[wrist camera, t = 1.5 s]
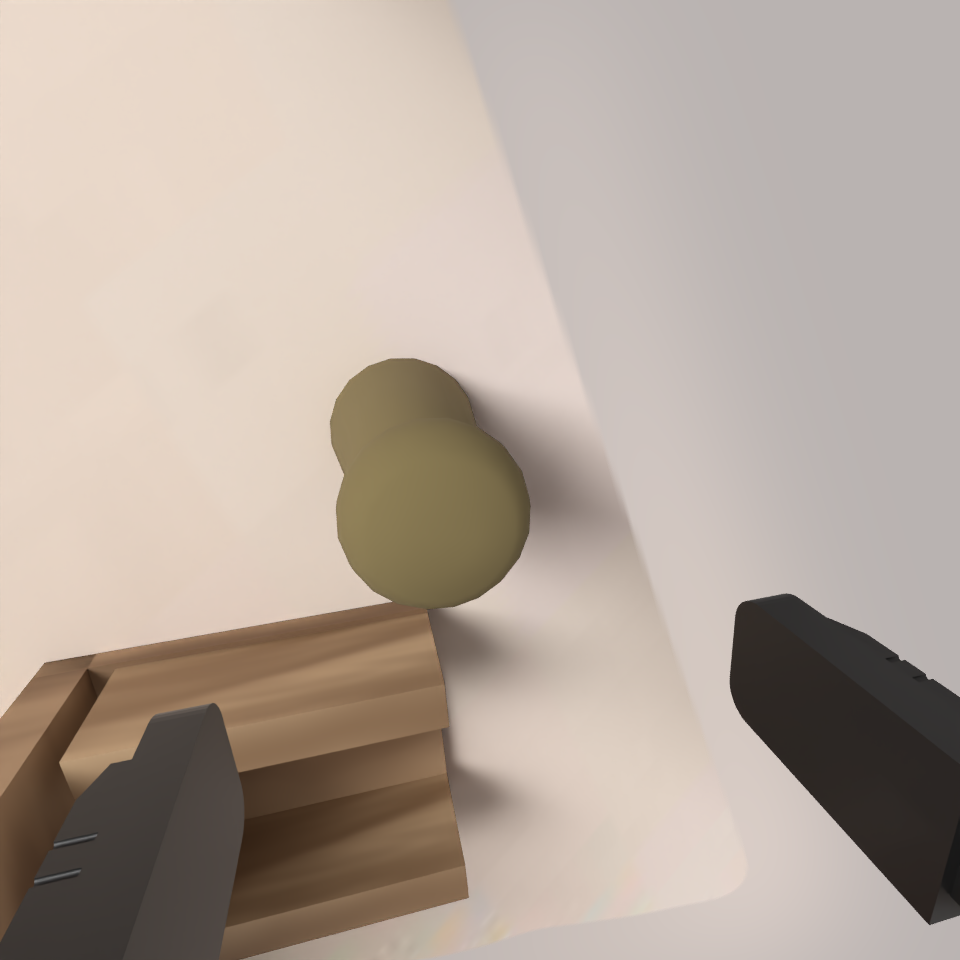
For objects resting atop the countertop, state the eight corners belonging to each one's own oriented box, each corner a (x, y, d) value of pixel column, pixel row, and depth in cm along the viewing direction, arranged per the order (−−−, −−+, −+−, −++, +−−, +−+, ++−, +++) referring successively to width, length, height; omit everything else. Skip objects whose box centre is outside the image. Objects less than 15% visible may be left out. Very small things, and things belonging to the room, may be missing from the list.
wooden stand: (44, 663, 24) (-633, 1516, 7) (424, 596, 27) (546, 1111, 10) (125, 866, 28) (-196, 1709, 12) (447, 790, 31) (562, 1381, 14)
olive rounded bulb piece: (323, 491, 24) (304, 643, 14) (337, 346, 23) (328, 401, 12) (462, 504, 26) (536, 650, 16) (486, 369, 24) (586, 435, 14)
